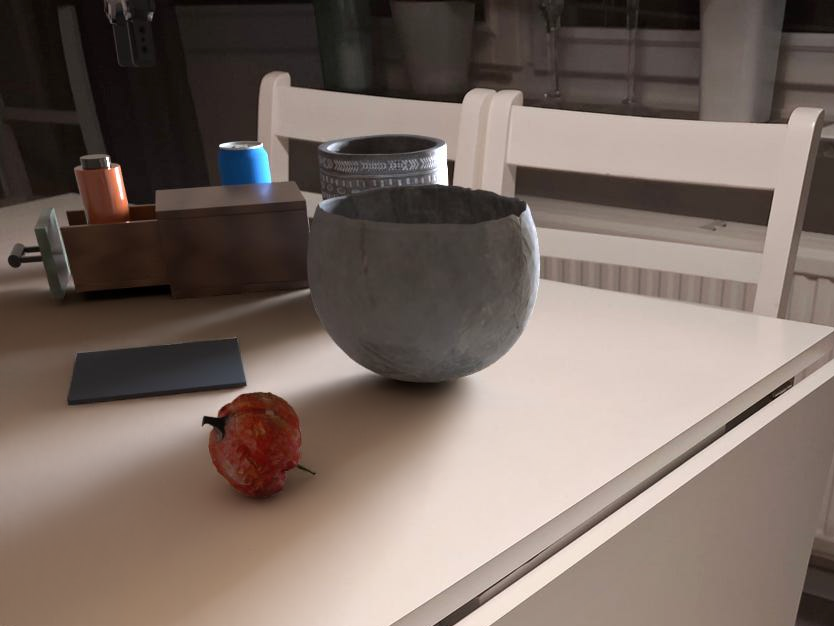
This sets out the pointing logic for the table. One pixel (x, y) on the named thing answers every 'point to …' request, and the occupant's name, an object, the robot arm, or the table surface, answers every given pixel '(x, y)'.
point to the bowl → (423, 278)
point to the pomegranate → (255, 443)
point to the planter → (380, 163)
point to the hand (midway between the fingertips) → (137, 67)
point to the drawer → (97, 251)
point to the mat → (156, 370)
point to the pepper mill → (102, 190)
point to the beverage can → (243, 163)
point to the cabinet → (234, 238)
